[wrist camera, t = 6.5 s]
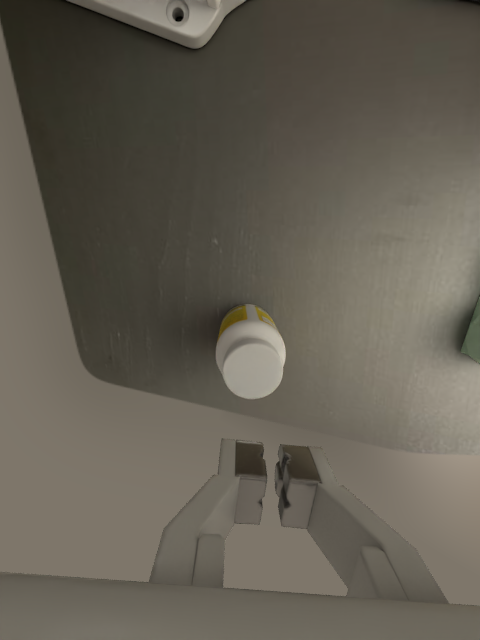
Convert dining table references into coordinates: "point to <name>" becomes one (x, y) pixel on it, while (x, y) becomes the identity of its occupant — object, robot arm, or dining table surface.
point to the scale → (473, 336)
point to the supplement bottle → (250, 352)
